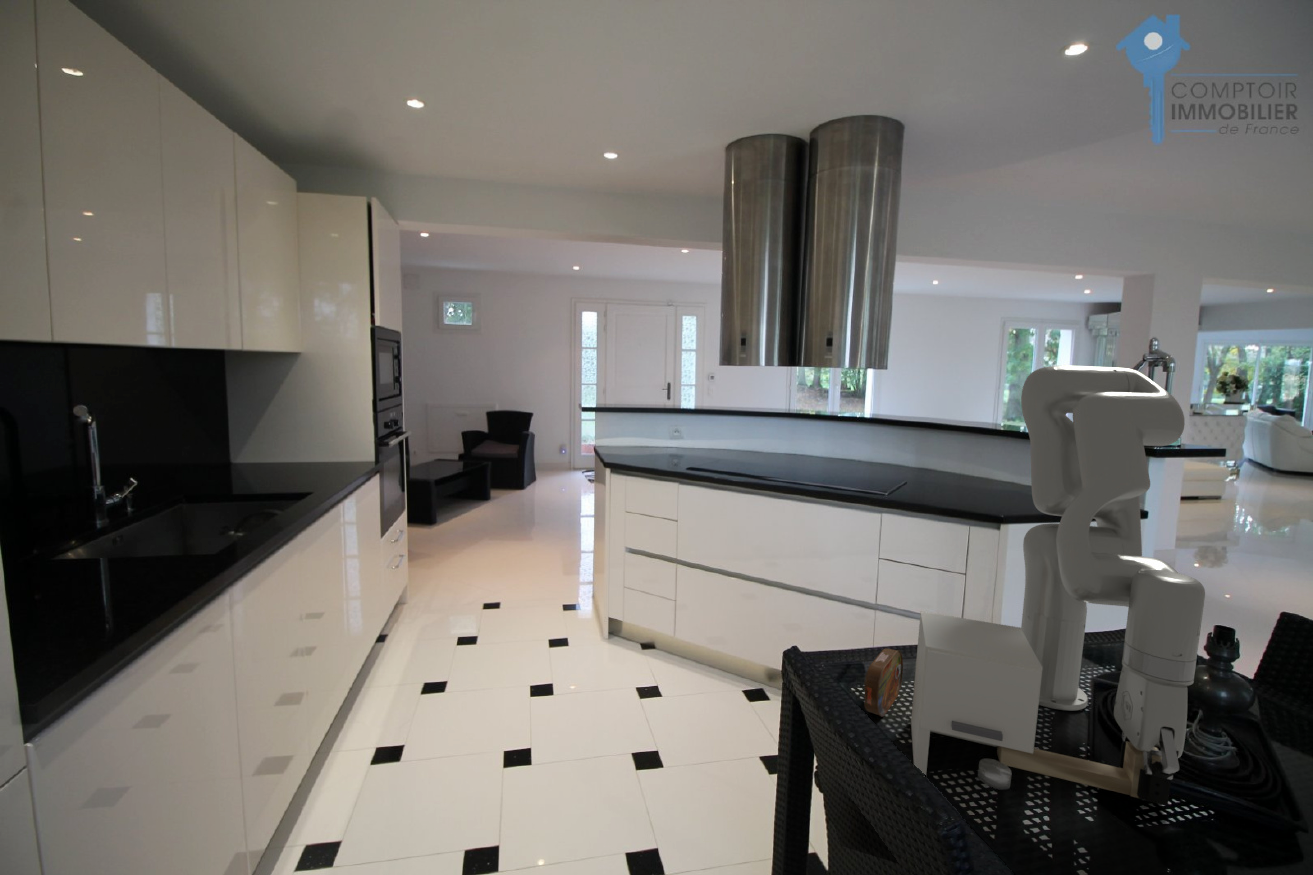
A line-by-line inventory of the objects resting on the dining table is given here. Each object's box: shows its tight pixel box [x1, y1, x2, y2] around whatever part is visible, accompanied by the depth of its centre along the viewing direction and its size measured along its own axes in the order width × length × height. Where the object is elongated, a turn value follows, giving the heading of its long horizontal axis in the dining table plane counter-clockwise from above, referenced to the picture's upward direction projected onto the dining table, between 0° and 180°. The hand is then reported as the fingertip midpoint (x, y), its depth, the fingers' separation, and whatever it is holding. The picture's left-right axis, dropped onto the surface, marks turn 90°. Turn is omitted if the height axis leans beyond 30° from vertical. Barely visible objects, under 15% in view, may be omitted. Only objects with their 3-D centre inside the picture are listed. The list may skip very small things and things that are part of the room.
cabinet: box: [910, 611, 1043, 776], centre depth 86 cm, size 16×14×19 cm
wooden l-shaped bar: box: [996, 741, 1162, 799], centre depth 85 cm, size 4×19×6 cm, turn 69°
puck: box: [977, 758, 1012, 791], centre depth 84 cm, size 4×4×2 cm
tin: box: [863, 648, 904, 717], centre depth 103 cm, size 15×3×8 cm, turn 143°
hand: (1142, 784), depth 82 cm, fingers open, 5 cm apart
